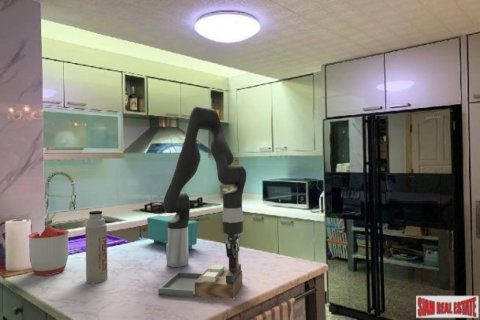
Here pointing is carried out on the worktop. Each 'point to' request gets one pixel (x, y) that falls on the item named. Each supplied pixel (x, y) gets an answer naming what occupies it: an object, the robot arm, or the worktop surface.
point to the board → (218, 286)
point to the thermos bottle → (96, 248)
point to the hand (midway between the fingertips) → (233, 266)
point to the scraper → (233, 270)
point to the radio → (160, 230)
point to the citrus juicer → (48, 251)
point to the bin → (180, 285)
